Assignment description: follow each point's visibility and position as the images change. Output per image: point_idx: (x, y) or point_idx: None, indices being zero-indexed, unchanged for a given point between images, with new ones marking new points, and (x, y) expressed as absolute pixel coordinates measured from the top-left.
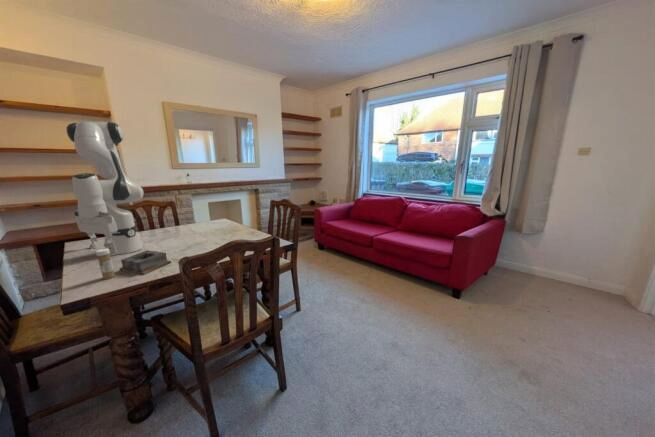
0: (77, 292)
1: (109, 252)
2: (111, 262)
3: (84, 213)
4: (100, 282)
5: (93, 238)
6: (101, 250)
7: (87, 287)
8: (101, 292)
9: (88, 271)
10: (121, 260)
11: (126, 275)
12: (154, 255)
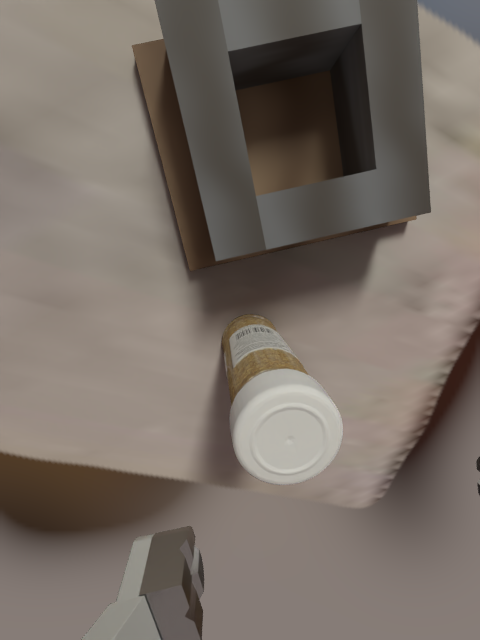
0: None
1: (313, 378)
2: (288, 347)
3: None
4: None
5: (198, 623)
6: (299, 449)
7: None
8: (405, 414)
9: (32, 376)
10: (218, 260)
11: (315, 280)
12: (379, 50)
